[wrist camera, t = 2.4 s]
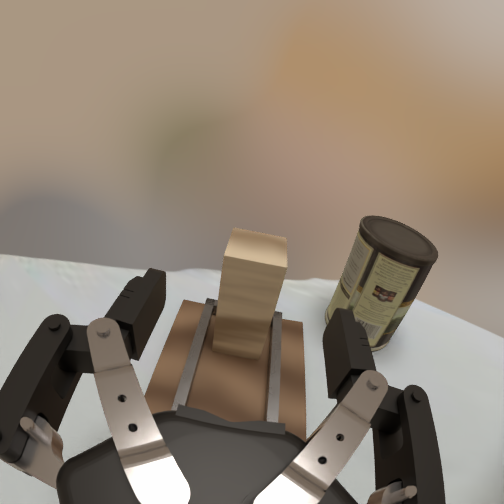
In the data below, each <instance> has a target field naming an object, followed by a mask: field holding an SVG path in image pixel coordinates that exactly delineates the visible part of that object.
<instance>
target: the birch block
mask: <svg viewBox="0 0 504 504" xmlns="http://www.w3.org/2000/svg"><path fill="white" fill-rule="evenodd" d="M286 270H287V239H286V238H284V237H279V236H274V235H269V234H264V233H259V232H254V231H249V230H244V229H238V228H233V231H232V233H231V237H230V239H229V242H228V245H227V248H226V251H225V254H224V259H223V267H222V273H221V281H220V289H219V296H218V304H217V312H216V321H215V329H214V338H213V346H212V351H213V352H217V353H222V354H227V355H233V356H238V357H243V358H249V359H255V360H259V359H260V355H261V352H262V349H263V346H264V343H265V340H266V337H267V333H268V330H269V327H270V324H271V321H272V317H273V314H274V311H275V308H276V304H277V301H278V298H279V294H280V291H281V288H282V284H283V281H284V277H285V274H286Z"/></svg>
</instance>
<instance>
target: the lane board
mask: <svg viewBox="0 0 504 504" xmlns="http://www.w3.org/2000/svg"><path fill="white" fill-rule="evenodd" d="M217 304H218V300H214V299H209V298H207V300H206V303H205V304H202V303H197V302H193V301H188V300H183V302H182V305H181V307H180V309H179V312H178V314H177V316H176V319H175V321H174V324H173V326H172V328H171V331H170V333H169V336H168V338H167V340H166V343H165V345H164V348H163V350H162V353H161V355H160V358H159V360H158V363H157V365H156V368H155V370H154V373H153V375H152V378H151V380H150V383H149V386H148V388H147V391H146V393H145V396H144V397H145V400H146V402H147V405H148V407H149V409H150V412H151V414H154V413H157V412H162V411H170V410H177V408H178V404H180V405H184V406H188V407H192V408H196V409H201V410H205V411H207V412H209V413H211V414H214V415H216V416H218V417H220V418H223V419H225V420H227V421H230V422H244V421H258V420H261V421H268V422H276V423H285V430H286V431H289V432H291V433H293V434H295V435H296V436H298V437H300V438H301V439H302V440H304V441H306V393H305V363H304V341H303V323H302V322H298V321H292V320H285V319H282V312H276V311H274V314H273V317H272V321H271V324H270V327H269V330H268V333H267V337H266V340H265V343H264V346H263V349H262V352H261V355H260V359H259V360H255V359H249V358H243V357H238V356H233V355H227V354H222V353H217V352H213V351H212V346H213V338H214V329H215V321H216V312H217Z"/></svg>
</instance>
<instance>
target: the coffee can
mask: <svg viewBox="0 0 504 504" xmlns="http://www.w3.org/2000/svg"><path fill="white" fill-rule="evenodd" d="M359 227H360V228H359V231H358V233H357V236H356V239H355V242H354V245H353V247H352V250H351V253H350V256H349V258H348V261H347V263H346V266H345V268H344V271H343V273H342V276H341V278H340V281H339V283H338V286H337V288H336V291H335V293H334V295H333V298H332V300H331V302H330V305H329V306H328V308H327V310H326V313H325V319H326V323H327V325H328V323H329V321H330V319H331V317H332V315H333V313H334V311H335V309H336V308H343V309H349V310H352V311H353V313H354V317H355V321H356V322H360V323H361V324H362V326H363V327H364V328H365V330H366V333H367V336H368V340H369V344H370V348H371V351H376V350H379V349H382V348H383V347H385V346H386V345H387V344H388V342H389V340H390V338H391V337H392V335H393V334H394V332H395V330H396V329H397V327H398V326H399V324H400V323H401V321H402V319H403V318H404V316H405V314H406V313H407V311H408V309H409V308H410V306H411V304H412V302H413V301H414V299H415V297H416V296H417V294H418V292H419V290H420V288H421V286H422V285H423V283H424V281H425V279H426V277H427V275H428V273H429V271H430V269H431V267H432V265H433V264H434V263H435V262H436V260H437V258H438V251H437V249H436V248H435V246H434V245H433V244H432V243H431V242H430V241H429V240H428V239H427V238H426V237H425V236H423V235H422V234H420V233H419V232H418V231H416V230H414V229H412V228H410V227H409V226H406V225H405V224H403V223H400V222H398V221H395V220H392V219H389V218H385V217H380V216H365V217H363V218H362V219H361V222H360V226H359Z"/></svg>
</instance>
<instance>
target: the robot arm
mask: <svg viewBox="0 0 504 504" xmlns="http://www.w3.org/2000/svg"><path fill="white" fill-rule="evenodd" d="M165 300H166V272H165V271H161V270H156V269H152V268H149V269H148V271H147V272H146V274H145V275H144V277H140V276H136V277H135V278H133V279H132V280H130V281H129V282H128V283H127V285H126V286H125V287H124V290H122V292H121V293H120V295H119V296H118V298H117V299H116V300H115V302H114V303H113V305H112V306H111V308H110V309H109V311H108V312H107V314H106V315H105V317H104V318H98V319H96V320H94V321H92V322H91V323H90V324H89V325H88V326H83V325H70V322H69V320H68V318H67V317H65V316H64V315H61V314H54V315H50V316H48V317H47V318H46V319H44V321H43V322H42V323H41V325H40V326H39V328H38V329H37V331H36V332H35V334H34V335H33V337H32V338H31V340H30V341H29V343H28V344H27V346H26V347H25V349H24V351H23V352H22V354H21V355H20V357H19V359H18V360H17V362H16V364H15V365H14V367H13V369H12V370H11V372H10V374H9V376H8V377H7V379H6V381H5V383H4V385H3V386H2V388H1V390H0V459H1V460H3V461H4V462H6V463H7V464H9V465H10V466H12V467H14V468H15V469H17V470H19V471H22V472H24V473H25V474H27V475H29V476H34V477H35V478H37V479H39V480H41V481H42V482H44V483H46V484H48V485H50V486H51V487H53V488H55V489H57V493H58V498H59V503H60V504H358V503H357V502H356V501H355V500H354V499H353V497H352V496H351V495H350V494H349V493H348V492H347V491H346V490H345V488H344V487H343V486H342V485H341V484H340V483H339V482H338V480H337V479H336V477H337V475H338V474H339V473H340V471H341V470H342V469H343V467H344V466H345V465H346V463H347V462H348V460H349V459H350V457H351V456H352V455H353V453H354V452H355V450H356V449H357V447H358V446H359V444H360V443H361V441H362V440H363V438H364V436H365V435H366V433H367V432H368V430H369V428H372V431H373V443H374V459H375V485H376V491H375V492H373V493H372V494H371V496H370V497H369V499H368V503H367V504H446V503H445V491H444V481H443V473H442V466H441V459H440V453H439V447H438V441H437V436H436V431H435V426H434V422H433V417H432V413H431V408H430V404H429V400H428V396H427V394H426V392H425V391H424V390H423V389H422V388H421V387H419V386H417V385H409V386H407V387H406V388H405V389H404V390H400V389H397V388H394V387H392V386H389V385H388V383H387V380H386V378H385V377H384V376H383V375H382V374H381V373H379V372H377V371H376V367H375V363H374V359H373V355H372V351H371V348H370V344H369V340H368V336H367V333H366V330H365V328H364V327H363V326H362V324H361V323H360V322H356V321H355V317H354V313H353V311H352V310H349V309H343V308H336V309H335V311H334V313H333V315H332V317H331V319H330V321H329V323H328V325H327V327H326V329H325V331H324V334H323V349H324V358H325V368H326V377H327V388H328V398H331V399H337V404H336V406H335V407H334V408H333V409H332V411H331V412H330V413H329V414H328V416H327V417H326V418H325V419H324V420H323V422H322V423H321V424H320V425H319V426H318V428H317V429H316V430H315V431H314V432H313V433H312V434H311V436H310V437H309V438H308V439H307V440H306V441H304V440H302V439H301V438H300V437H298V436H296V435H295V434H293V433H291V432H289V431H286V430H285V423H276V422H268V421H261V420H258V421H244V422H230V421H227V420H225V419H223V418H220V417H218V416H216V415H214V414H211V413H209V412H207V411H205V410H201V409H196V408H192V407H188V406H184V405H180V404H178V408H177V410H170V411H162V412H157V413H154V414H151V412H150V409H149V407H148V405H147V402H146V400H145V397H144V395H143V392H142V390H141V387H140V385H139V382H138V379H137V377H136V374H135V371H134V368H133V366H132V364H131V363H130V360H131V359H134V360H137V361H139V359H140V357H141V355H142V352H143V350H144V348H145V346H146V344H147V342H148V340H149V337H150V335H151V333H152V331H153V329H154V327H155V325H156V323H157V321H158V319H159V317H160V315H161V313H162V311H163V308H164V305H165ZM82 373H92V374H94V377H95V381H96V385H97V389H98V393H99V397H100V400H101V404H102V407H103V410H104V414H105V417H106V420H107V423H108V426H109V429H110V432H111V435H112V437H111V438H109V439H107V440H105V441H103V442H101V443H100V444H98V445H96V446H94V447H92V448H90V449H88V450H86V451H84V452H82V453H80V454H78V455H76V456H74V457H72V458H70V459H69V460H67V461H66V462H65V463H64V461H63V457H62V450H63V441H62V439H61V436H60V435H59V434H58V433H57V431H58V429H59V426H60V424H61V421H62V419H63V416H64V414H65V411H66V409H67V407H68V404H69V402H70V400H71V397H72V395H73V393H74V391H75V388H76V386H77V384H78V382H79V380H80V377H81V375H82Z"/></svg>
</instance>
